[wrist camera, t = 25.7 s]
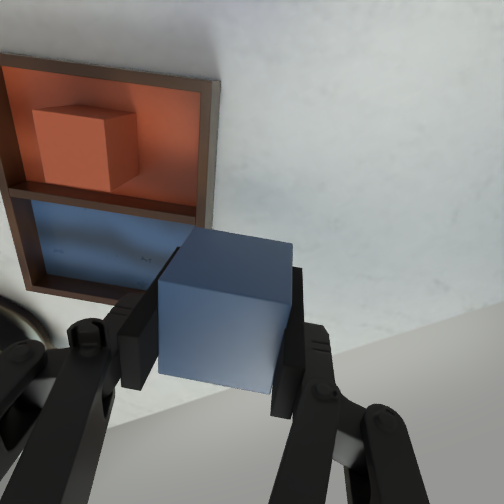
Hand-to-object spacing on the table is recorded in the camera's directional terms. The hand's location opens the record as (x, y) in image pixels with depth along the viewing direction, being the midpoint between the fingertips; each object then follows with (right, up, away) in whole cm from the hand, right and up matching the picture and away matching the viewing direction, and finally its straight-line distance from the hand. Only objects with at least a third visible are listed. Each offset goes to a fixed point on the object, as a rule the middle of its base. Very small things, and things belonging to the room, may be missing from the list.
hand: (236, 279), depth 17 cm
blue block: (0, 0, 0) cm, 0 cm away
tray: (-12, +7, +13) cm, 19 cm away
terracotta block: (-11, +11, +10) cm, 18 cm away
